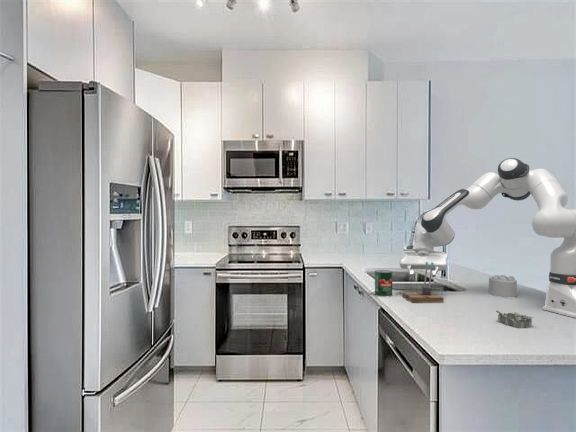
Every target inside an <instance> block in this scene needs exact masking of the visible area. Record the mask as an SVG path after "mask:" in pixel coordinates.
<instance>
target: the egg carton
mask: <svg viewBox="0 0 576 432" xmlns="http://www.w3.org/2000/svg"><path fill="white" fill-rule="evenodd" d="M495 312H496V313H498V315H497V321H498V323H501V324H502V323H503V324H505V325H507V326H513V328H519V329H524V328H525V327H526V328H533V327H532V325H533V323H532V322H533V321H532V320H533V319H534V317H535V316H529V315H527V314H525V315H524V314H521V313H518V312H516V311H515V312H514V311H513V312H507V313H505V312H504V313H502V312H501V311H499V310H496V311H495Z"/></svg>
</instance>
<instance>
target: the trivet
mask: <svg viewBox="0 0 576 432" xmlns="http://www.w3.org/2000/svg"><path fill="white" fill-rule="evenodd" d="M402 298H403V299H405V298H406V300H407V299H408V300H407V301H409V302H410V303H413V304H425V303H426V304H432V303H433V304H434V303H435V304H436V303H437V304H439V303H440V304H443V303H444V297H442V296H440V295H438V294H436V293H434V292H432V291H431V296H430V295H424V294H422V291H421V292H419V291H415V292H407V291H405V292H402Z"/></svg>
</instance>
